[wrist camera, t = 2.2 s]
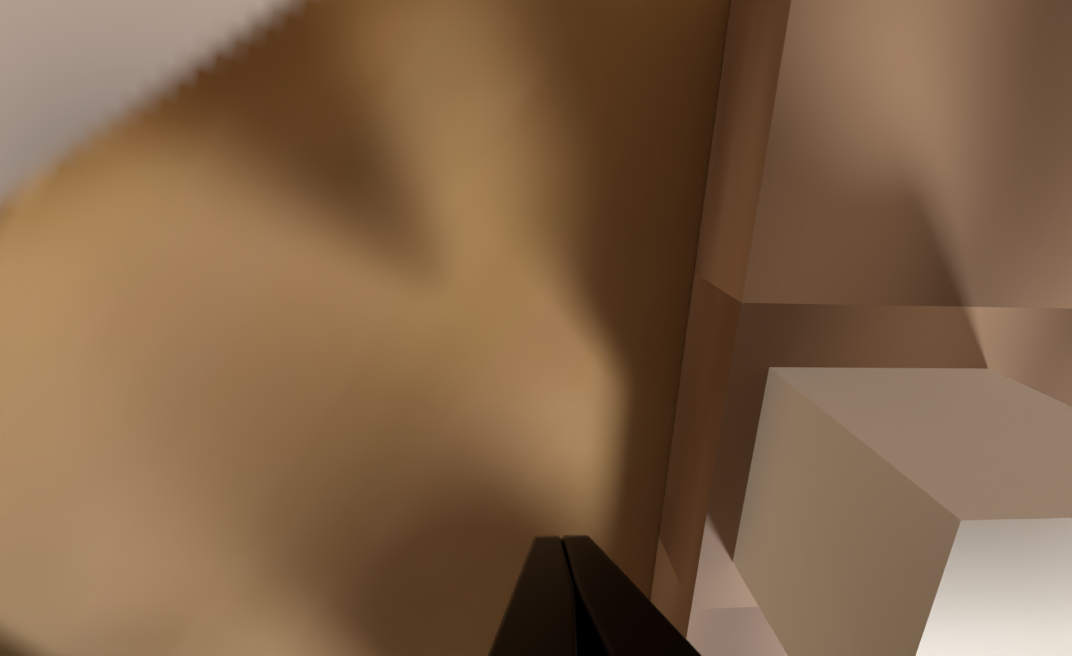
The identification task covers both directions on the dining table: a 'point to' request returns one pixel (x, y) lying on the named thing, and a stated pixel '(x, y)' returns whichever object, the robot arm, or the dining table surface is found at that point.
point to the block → (910, 514)
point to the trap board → (863, 240)
